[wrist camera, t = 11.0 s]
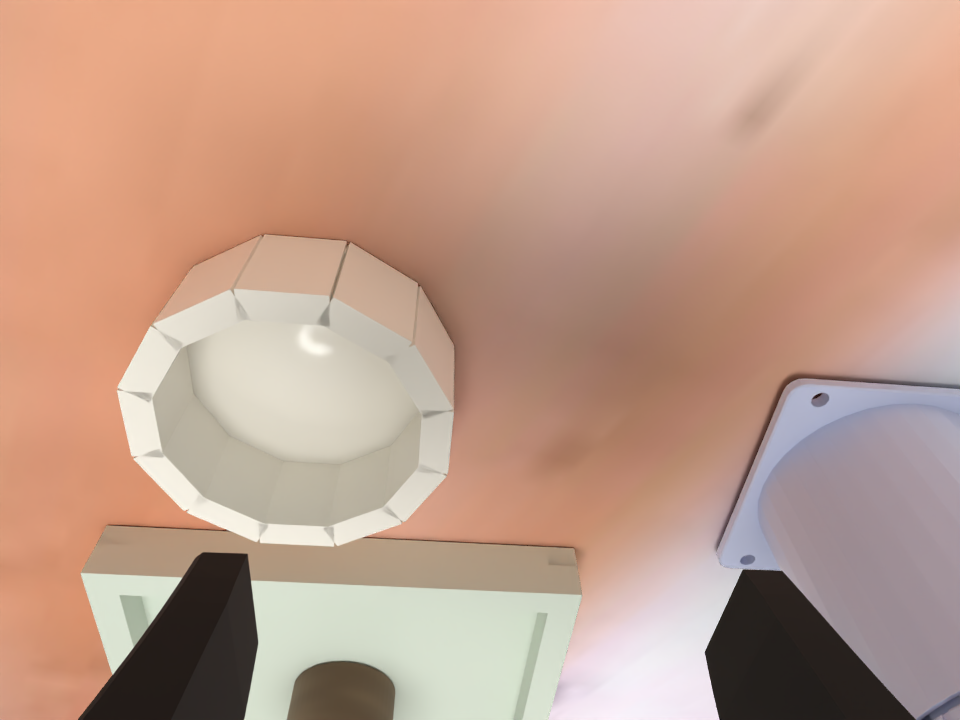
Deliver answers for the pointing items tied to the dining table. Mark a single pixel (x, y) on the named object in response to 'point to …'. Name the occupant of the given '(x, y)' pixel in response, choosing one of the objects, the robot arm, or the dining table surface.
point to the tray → (367, 615)
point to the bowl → (294, 393)
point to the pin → (342, 693)
